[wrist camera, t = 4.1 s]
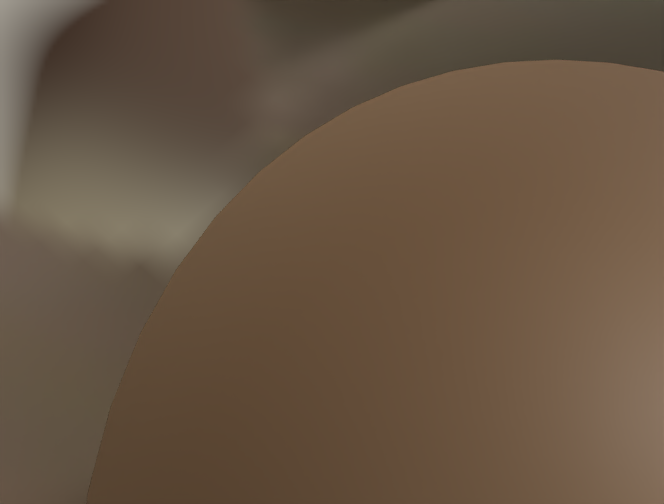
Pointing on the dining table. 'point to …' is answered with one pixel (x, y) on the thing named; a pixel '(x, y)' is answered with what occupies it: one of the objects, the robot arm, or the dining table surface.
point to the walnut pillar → (420, 309)
